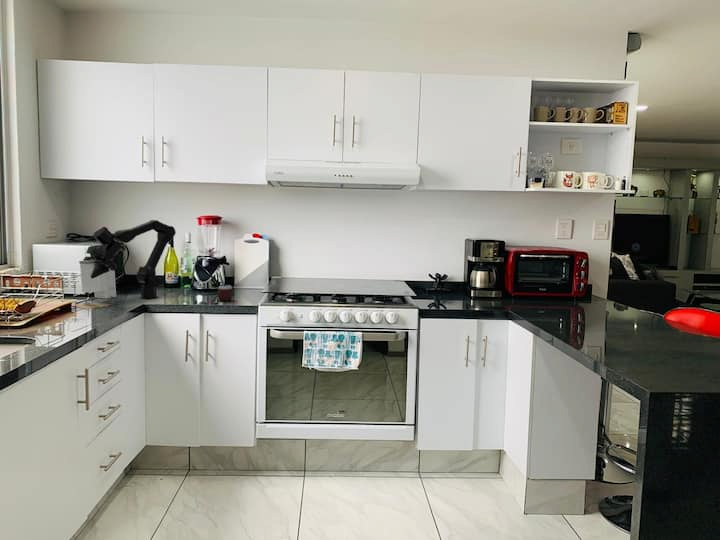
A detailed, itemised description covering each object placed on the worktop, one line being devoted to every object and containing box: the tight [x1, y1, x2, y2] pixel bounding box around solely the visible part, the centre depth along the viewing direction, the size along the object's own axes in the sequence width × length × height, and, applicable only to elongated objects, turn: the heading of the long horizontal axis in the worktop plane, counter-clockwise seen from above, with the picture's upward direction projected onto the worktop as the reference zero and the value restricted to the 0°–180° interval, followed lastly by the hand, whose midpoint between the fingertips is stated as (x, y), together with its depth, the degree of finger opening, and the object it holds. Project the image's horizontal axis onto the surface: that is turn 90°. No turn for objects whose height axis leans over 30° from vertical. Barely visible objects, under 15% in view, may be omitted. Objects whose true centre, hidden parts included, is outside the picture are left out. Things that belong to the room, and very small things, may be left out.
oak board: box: [74, 301, 110, 310], centre depth 250 cm, size 12×12×1 cm
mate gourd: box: [214, 270, 234, 303], centre depth 267 cm, size 8×8×15 cm
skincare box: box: [93, 269, 117, 299], centre depth 272 cm, size 8×7×16 cm
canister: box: [78, 259, 101, 294], centre depth 247 cm, size 6×6×14 cm
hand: (88, 277), depth 246 cm, fingers closed on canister, 5 cm apart
